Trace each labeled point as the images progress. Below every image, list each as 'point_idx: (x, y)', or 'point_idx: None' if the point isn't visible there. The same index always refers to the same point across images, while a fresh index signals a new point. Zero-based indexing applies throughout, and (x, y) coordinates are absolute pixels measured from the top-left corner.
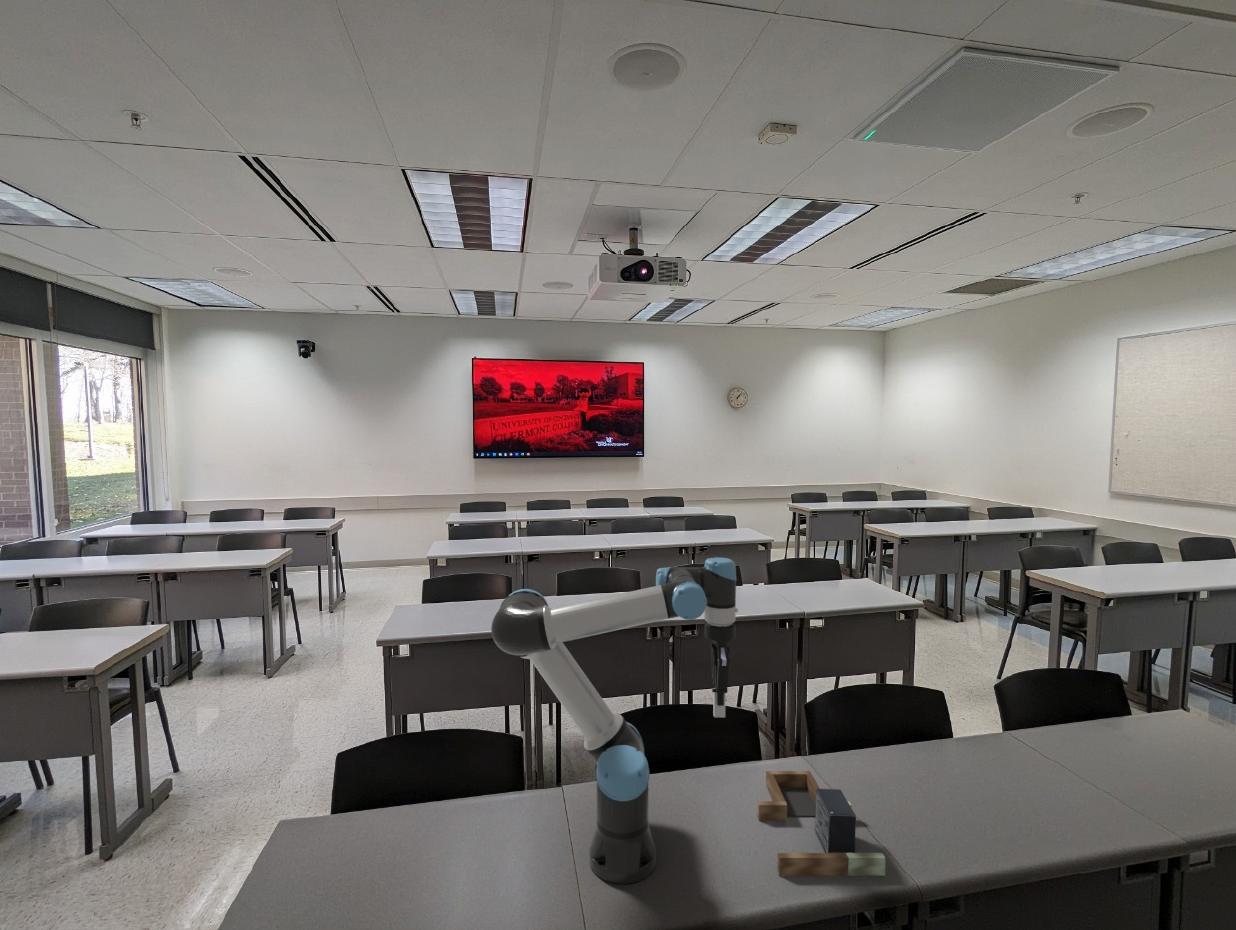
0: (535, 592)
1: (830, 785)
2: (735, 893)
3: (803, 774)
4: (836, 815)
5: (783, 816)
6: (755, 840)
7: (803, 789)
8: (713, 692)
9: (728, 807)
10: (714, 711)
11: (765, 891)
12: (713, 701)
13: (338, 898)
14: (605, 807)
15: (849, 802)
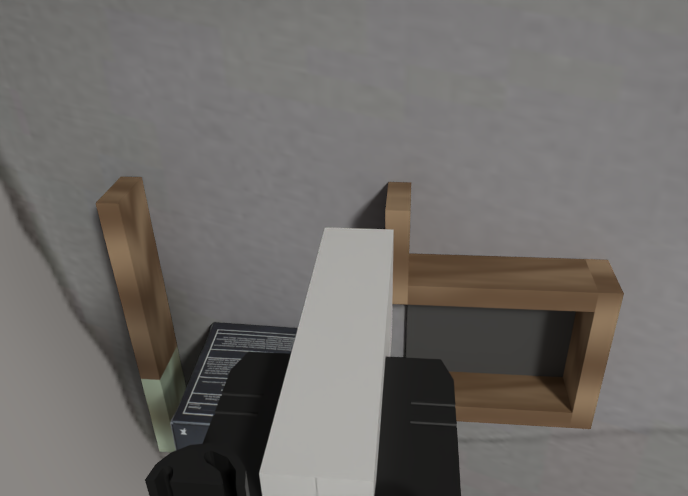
0: None
1: (567, 440)
2: (8, 18)
3: (573, 404)
4: (174, 437)
5: None
6: (279, 144)
7: (552, 367)
8: (378, 427)
9: (479, 84)
10: (315, 266)
11: (45, 118)
12: (380, 327)
13: None
14: None
15: None
